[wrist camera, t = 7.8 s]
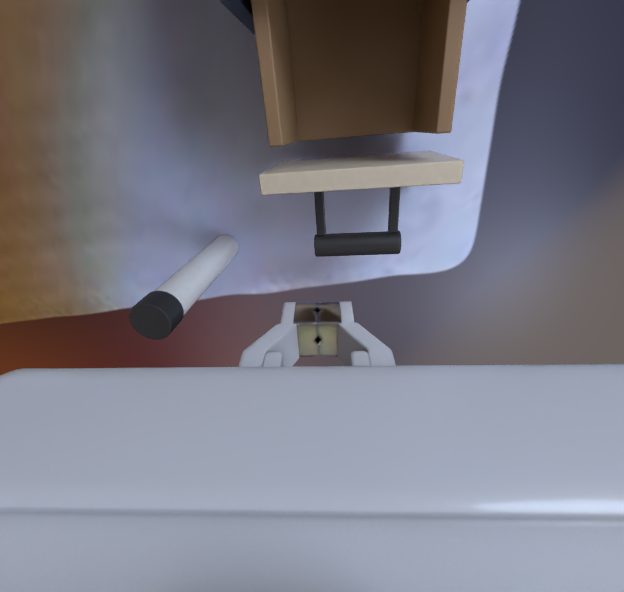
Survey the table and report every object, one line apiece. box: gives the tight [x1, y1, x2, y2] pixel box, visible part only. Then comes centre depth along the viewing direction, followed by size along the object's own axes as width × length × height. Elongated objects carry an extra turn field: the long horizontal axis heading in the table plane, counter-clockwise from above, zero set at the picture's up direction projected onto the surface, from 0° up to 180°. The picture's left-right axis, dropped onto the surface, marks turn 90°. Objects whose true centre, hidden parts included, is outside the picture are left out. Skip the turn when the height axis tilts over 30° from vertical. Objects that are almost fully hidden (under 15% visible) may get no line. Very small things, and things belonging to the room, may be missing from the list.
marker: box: [129, 235, 239, 340], centre depth 24 cm, size 3×3×14 cm
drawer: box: [251, 0, 467, 257], centre depth 19 cm, size 19×12×8 cm, turn 4°
